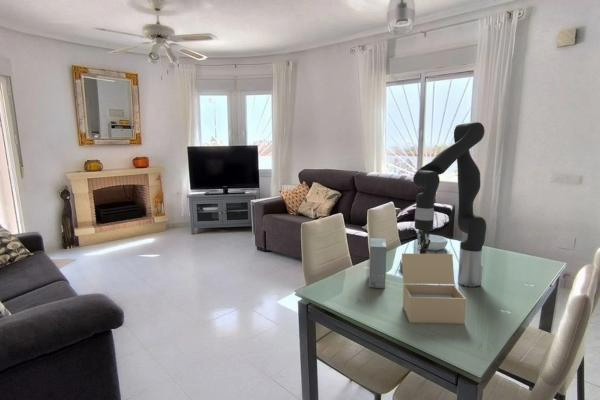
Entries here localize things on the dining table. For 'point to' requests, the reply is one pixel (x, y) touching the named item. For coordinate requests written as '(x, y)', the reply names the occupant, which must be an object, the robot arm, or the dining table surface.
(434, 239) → the cereal bowl
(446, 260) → the lid
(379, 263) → the hard drive box
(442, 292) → the carton
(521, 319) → the dining table surface
